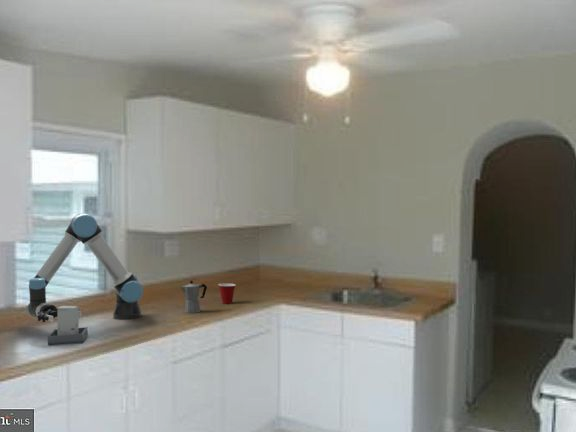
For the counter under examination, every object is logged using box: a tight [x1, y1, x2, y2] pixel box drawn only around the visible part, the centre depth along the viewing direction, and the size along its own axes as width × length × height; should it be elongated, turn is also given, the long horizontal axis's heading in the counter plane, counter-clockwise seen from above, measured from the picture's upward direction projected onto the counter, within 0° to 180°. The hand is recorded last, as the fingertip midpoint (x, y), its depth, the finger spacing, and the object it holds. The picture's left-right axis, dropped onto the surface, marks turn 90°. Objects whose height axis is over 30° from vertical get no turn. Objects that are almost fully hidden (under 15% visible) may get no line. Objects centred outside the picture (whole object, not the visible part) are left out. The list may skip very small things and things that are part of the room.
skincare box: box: [56, 305, 80, 336], centre depth 270 cm, size 8×6×15 cm
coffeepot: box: [179, 280, 208, 314], centre depth 332 cm, size 15×9×18 cm, turn 110°
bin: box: [47, 326, 89, 346], centre depth 270 cm, size 15×15×4 cm
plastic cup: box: [218, 283, 237, 305], centre depth 356 cm, size 11×11×12 cm
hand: (66, 316), depth 270 cm, fingers open, 13 cm apart
